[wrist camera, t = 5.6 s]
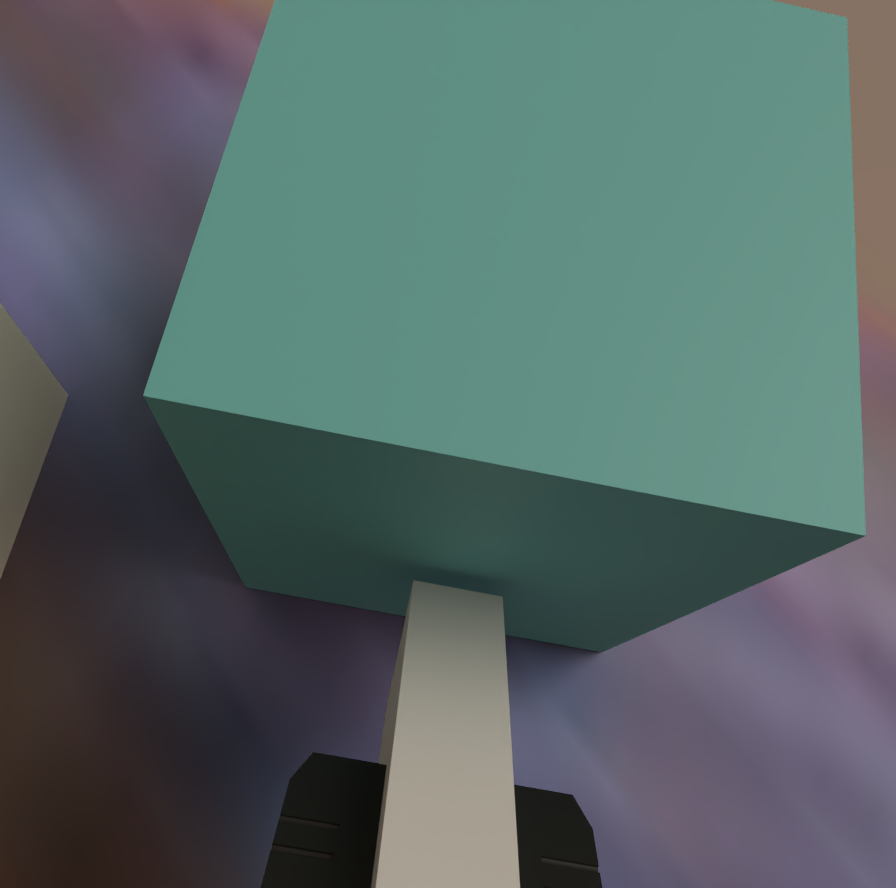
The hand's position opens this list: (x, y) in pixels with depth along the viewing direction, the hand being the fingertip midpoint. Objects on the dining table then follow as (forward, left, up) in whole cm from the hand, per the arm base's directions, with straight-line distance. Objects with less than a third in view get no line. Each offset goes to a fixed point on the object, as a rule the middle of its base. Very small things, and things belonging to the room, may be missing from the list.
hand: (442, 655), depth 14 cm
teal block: (-5, +3, -4) cm, 7 cm away
